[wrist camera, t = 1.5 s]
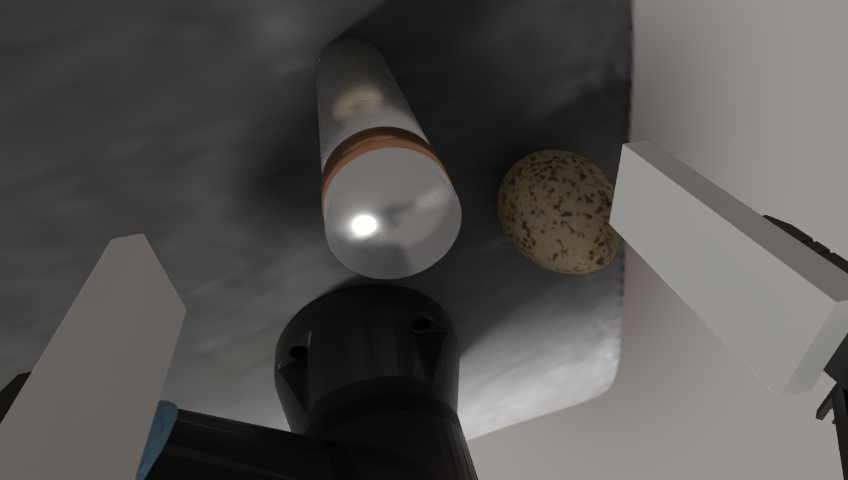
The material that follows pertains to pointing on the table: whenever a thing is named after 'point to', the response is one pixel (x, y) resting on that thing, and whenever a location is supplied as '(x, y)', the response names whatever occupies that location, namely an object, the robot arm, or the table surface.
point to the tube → (378, 169)
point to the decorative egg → (558, 212)
